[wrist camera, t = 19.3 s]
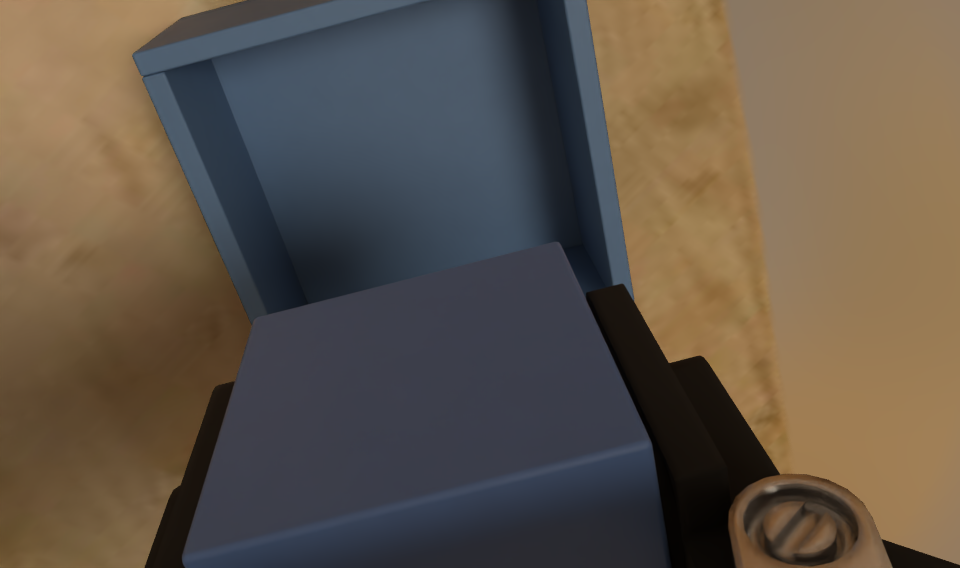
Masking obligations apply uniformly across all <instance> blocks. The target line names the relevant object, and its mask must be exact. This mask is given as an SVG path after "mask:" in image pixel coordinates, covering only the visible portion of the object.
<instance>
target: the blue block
mask: <svg viewBox="0 0 960 568" xmlns="http://www.w3.org/2000/svg"><path fill="white" fill-rule="evenodd" d="M182 562H183V565H184V567H185V568H672V565H671V559H670V553H669V546H668V540H667V534H666V528H665V521H664V515H663V509H662V503H661V497H660V490H659V484H658V478H657V472H656V465H655V459H654V453H653V447H652V442H651V440H650V438H649V436H648V433H647V431H646V429H645V427H644V425H643V423H642V420H641V418H640V416H639V414H638V412H637V409H636V407H635V405H634V403H633V401H632V399H631V396H630V394H629V392H628V390H627V388H626V386H625V383H624V381H623V379H622V377H621V375H620V372H619V370H618V368H617V366H616V364H615V362H614V359H613V357H612V355H611V353H610V351H609V348H608V346H607V344H606V342H605V340H604V338H603V335H602V333H601V331H600V329H599V327H598V325H597V322H596V320H595V318H594V316H593V314H592V311H591V309H590V307H589V305H588V303H587V301H586V298H585V296H584V294H583V292H582V290H581V287H580V285H579V283H578V281H577V279H576V277H575V274H574V272H573V270H572V268H571V266H570V264H569V261H568V259H567V257H566V255H565V253H564V250H563V248H562V246H561V245H560V243H559V242H552V243H548V244H544V245H540V246H536V247H532V248H528V249H524V250H520V251H517V252H513V253H509V254H505V255H501V256H497V257H493V258H489V259H485V260H481V261H477V262H473V263H469V264H465V265H461V266H458V267H454V268H450V269H446V270H442V271H438V272H434V273H430V274H426V275H422V276H418V277H414V278H410V279H406V280H402V281H399V282H395V283H391V284H387V285H383V286H379V287H375V288H371V289H367V290H363V291H359V292H355V293H351V294H347V295H343V296H340V297H336V298H332V299H328V300H324V301H320V302H316V303H312V304H308V305H304V306H300V307H296V308H292V309H288V310H284V311H281V312H277V313H273V314H269V315H265V316H261V317H257V318H256V319H254V321H253V324H252V327H251V331H250V334H249V337H248V340H247V344H246V347H245V350H244V354H243V357H242V360H241V363H240V367H239V370H238V373H237V377H236V380H235V383H234V386H233V390H232V393H231V396H230V400H229V403H228V406H227V409H226V413H225V416H224V419H223V423H222V426H221V429H220V432H219V436H218V439H217V442H216V446H215V449H214V452H213V455H212V459H211V462H210V465H209V468H208V472H207V475H206V478H205V482H204V485H203V488H202V491H201V495H200V498H199V501H198V505H197V508H196V511H195V514H194V518H193V521H192V524H191V528H190V531H189V534H188V537H187V541H186V544H185V547H184V551H183V554H182Z"/></svg>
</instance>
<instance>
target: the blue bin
mask: <svg viewBox="0 0 960 568" xmlns="http://www.w3.org/2000/svg"><path fill="white" fill-rule="evenodd" d="M132 57H133V59H134V61H135V64H136V66H137V68H138V70H139V73H140V75H141V76H144V77H143V78H142V80H143V82H144V84H145V86H146V89H147V91H148V93H149V95H150V98H151V100H152V102H153V104H154V107H155V109H156V111H157V113H158V116H159V118H160V120H161V122H162V125H163V127H164V129H165V131H166V134H167V136H168V138H169V140H170V143H171V145H172V147H173V149H174V152H175V154H176V156H177V158H178V161H179V163H180V165H181V167H182V170H183V172H184V174H185V176H186V179H187V181H188V183H189V185H190V188H191V190H192V192H193V194H194V197H195V199H196V201H197V203H198V206H199V208H200V210H201V212H202V215H203V217H204V219H205V221H206V224H207V226H208V228H209V230H210V233H211V235H212V237H213V239H214V242H215V244H216V246H217V248H218V251H219V253H220V255H221V257H222V260H223V262H224V264H225V266H226V268H227V271H228V273H229V275H230V277H231V280H232V282H233V284H234V286H235V289H236V291H237V293H238V295H239V298H240V300H241V302H242V304H243V307H244V309H245V311H246V313H247V316H248V318H249V320H250V322H251V325H252V324H253V321H254V319H256V318H257V317H261V316H265V315H269V314H273V313H277V312H281V311H284V310H288V309H292V308H296V307H300V306H304V305H308V304H312V303H316V302H320V301H324V300H328V299H332V298H336V297H340V296H343V295H347V294H351V293H355V292H359V291H363V290H367V289H371V288H375V287H379V286H383V285H387V284H391V283H395V282H399V281H402V280H406V279H410V278H414V277H418V276H422V275H426V274H430V273H434V272H438V271H442V270H446V269H450V268H454V267H458V266H461V265H465V264H469V263H473V262H477V261H481V260H485V259H489V258H493V257H497V256H501V255H505V254H509V253H513V252H517V251H520V250H524V249H528V248H532V247H536V246H540V245H544V244H548V243H552V242H559V243H560V245H561V246H562V248H563V250H564V253H565V255H566V257H567V259H568V261H569V264H570V266H571V268H572V270H573V272H574V274H575V277H576V279H577V281H578V283H579V285H580V287H581V290H582V292H583V294H584V296H585V298H586V292H590V291H594V290H598V289H602V288H606V287H610V286H614V285H617V284H621V283H622V284H624V285H625V287H626V288H627V290H628V292H629V294H630V295H631V297H632V299H633V301H634V295H633V289H632V283H631V276H630V270H629V264H628V258H627V251H626V245H625V239H624V232H623V226H622V220H621V214H620V207H619V201H618V195H617V189H616V182H615V176H614V170H613V164H612V157H611V151H610V145H609V139H608V132H607V126H606V120H605V114H604V107H603V101H602V95H601V88H600V82H599V76H598V70H597V63H596V57H595V51H594V45H593V38H592V32H591V26H590V20H589V13H588V7H587V1H586V0H247V1H243V2H239V3H235V4H232V5H228V6H224V7H220V8H217V9H213V10H209V11H205V12H202V13H198V14H194V15H190V16H187V17H183V18H181V19H179V20H178V21H177V22H175V23H174V24H173V25H171V26H170V27H169V28H167V29H166V30H164V31H163V32H162V33H160V34H159V35H158V36H156V37H155V38H154V39H152V40H151V41H149V42H148V43H147V44H145V45H144V46H143V47H141V48H140V49H139V50H137V51H136V52H135V53H133V54H132Z"/></svg>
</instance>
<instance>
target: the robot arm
mask: <svg viewBox="0 0 960 568" xmlns="http://www.w3.org/2000/svg"><path fill="white" fill-rule="evenodd" d="M586 301H587V303H588V305H589V307H590V309H591V311H592V314H593V316H594V318H595V320H596V322H597V325H598V327H599V329H600V331H601V333H602V335H603V338H604V340H605V342H606V344H607V346H608V348H609V351H610V353H611V355H612V357H613V359H614V362H615V364H616V366H617V368H618V370H619V372H620V375H621V377H622V379H623V381H624V383H625V386H626V388H627V390H628V392H629V394H630V396H631V399H632V401H633V403H634V405H635V407H636V409H637V412H638V414H639V416H640V418H641V420H642V423H643V425H644V427H645V429H646V431H647V433H648V436H649V438H650V440H651V442H652V447H653V453H654V459H655V465H656V472H657V478H658V484H659V490H660V497H661V503H662V509H663V515H664V521H665V528H666V534H667V540H668V546H669V553H670V559H671V565H672V568H960V565H958V564H954V563H952V562H949V561H946V560H943V559H940V558H936V557H933V556H931V555H927V554H925V553H922V552H919V551H915V550H913V549H910V548H906V547H904V546H901V545H897V544H895V543H892V542H889V541H886V540H883V539H881V537H880V535H879V532H878V530H877V527H876V525H875V522H874V520H873V518H872V516H871V514H870V513H869V511H868V510H867V508H866V506H865V505H864V503H863V502H862V501H860V500H859V499H858V498H857V497H856V496H855V495H854V494H852V493H851V492H850V491H849V490H848V489H846V488H844V487H842V486H840V485H837V484H836V483H834V482H831V481H829V480H827V479H823V478H819V477H815V476H811V475H805V474H782V475H780V473H779V472H778V470H777V469H776V467H775V466H774V464H773V462H772V461H771V459H770V458H769V456H768V455H767V453H766V452H765V450H764V449H763V447H762V445H761V444H760V442H759V441H758V439H757V438H756V436H755V435H754V433H753V431H752V430H751V428H750V427H749V425H748V424H747V422H746V421H745V419H744V418H743V416H742V414H741V413H740V411H739V410H738V408H737V407H736V405H735V404H734V402H733V401H732V399H731V397H730V396H729V394H728V393H727V391H726V390H725V388H724V387H723V385H722V384H721V382H720V380H719V379H718V377H717V376H716V374H715V373H714V371H713V370H712V368H711V366H710V365H709V363H708V362H707V361H706V360H705V358H704V357H702V356H696V357H692V358H688V359H684V360H680V361H676V362H672V363H668V361H667V359H666V357H665V356H664V354H663V352H662V350H661V349H660V347H659V345H658V343H657V341H656V340H655V338H654V336H653V334H652V333H651V331H650V329H649V327H648V326H647V324H646V322H645V320H644V318H643V317H642V315H641V313H640V311H639V310H638V308H637V306H636V304H635V303H634V301H633V299H632V297H631V295H630V294H629V292H628V290H627V288H626V287H625V285H624V284H622V283H621V284H617V285H614V286H610V287H606V288H602V289H598V290H594V291H590V292H586ZM234 383H235V381H233V382H230V383H226V384H222V385H218V386H216V387H215V388H214V390H213V392H212V395H211V398H210V401H209V404H208V407H207V410H206V413H205V415H204V418H203V421H202V424H201V427H200V430H199V433H198V436H197V439H196V442H195V445H194V448H193V451H192V454H191V456H190V459H189V462H188V465H187V468H186V471H185V474H184V477H183V480H182V483H181V486H178V487H177V488H176V489H174V490H173V492H172V494H171V496H170V497H169V500H168V503H167V506H166V508H165V511H164V514H163V517H162V520H161V523H160V525H159V528H158V531H157V534H156V537H155V539H154V542H153V545H152V548H151V551H150V554H149V556H148V559H147V562H146V565H145V568H185V567H184V565H183V562H182V554H183V551H184V547H185V544H186V541H187V537H188V534H189V531H190V528H191V524H192V521H193V518H194V514H195V511H196V508H197V505H198V501H199V498H200V495H201V491H202V488H203V485H204V482H205V478H206V475H207V472H208V468H209V465H210V462H211V459H212V455H213V452H214V449H215V446H216V442H217V439H218V436H219V432H220V429H221V426H222V423H223V419H224V416H225V413H226V409H227V406H228V403H229V400H230V396H231V393H232V390H233V386H234Z"/></svg>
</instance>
